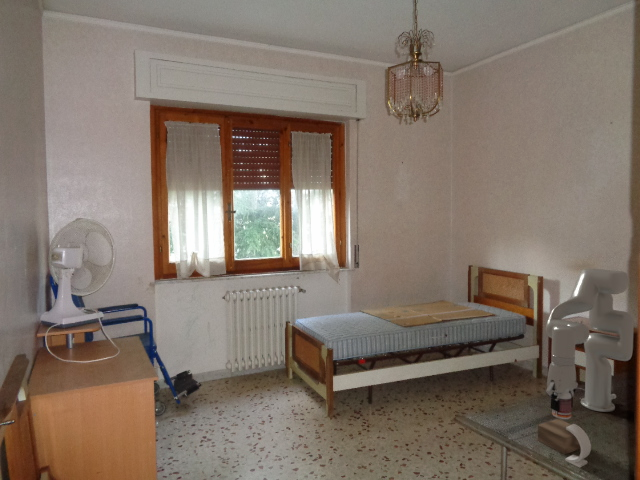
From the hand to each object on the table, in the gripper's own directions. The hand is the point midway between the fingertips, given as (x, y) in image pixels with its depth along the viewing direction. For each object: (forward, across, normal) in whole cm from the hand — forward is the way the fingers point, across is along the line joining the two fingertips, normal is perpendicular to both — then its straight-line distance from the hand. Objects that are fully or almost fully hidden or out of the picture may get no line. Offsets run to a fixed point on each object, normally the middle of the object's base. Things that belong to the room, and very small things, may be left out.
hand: (561, 407), depth 171 cm
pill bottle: (+3, 0, 0) cm, 3 cm away
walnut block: (+14, 0, 0) cm, 14 cm away
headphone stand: (+14, +6, +11) cm, 19 cm away
